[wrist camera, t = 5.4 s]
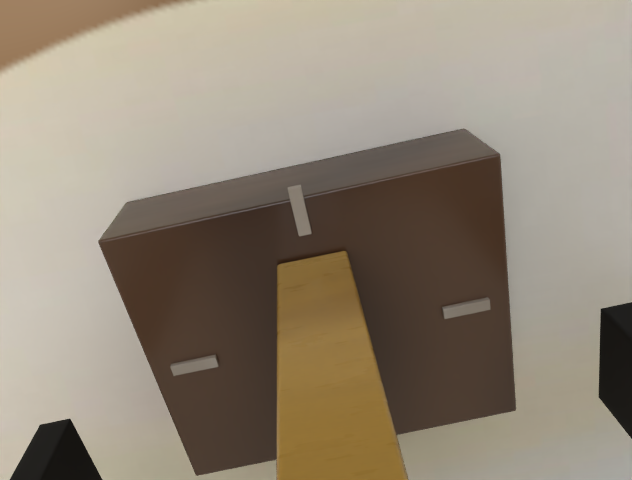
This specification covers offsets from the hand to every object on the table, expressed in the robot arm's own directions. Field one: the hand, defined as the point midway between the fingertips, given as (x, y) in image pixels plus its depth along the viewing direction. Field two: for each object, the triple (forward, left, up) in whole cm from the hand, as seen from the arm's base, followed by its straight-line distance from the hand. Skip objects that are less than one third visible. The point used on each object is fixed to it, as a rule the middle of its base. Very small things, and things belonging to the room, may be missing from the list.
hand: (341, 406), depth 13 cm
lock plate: (0, 0, -6) cm, 6 cm away
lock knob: (0, 0, -3) cm, 3 cm away
